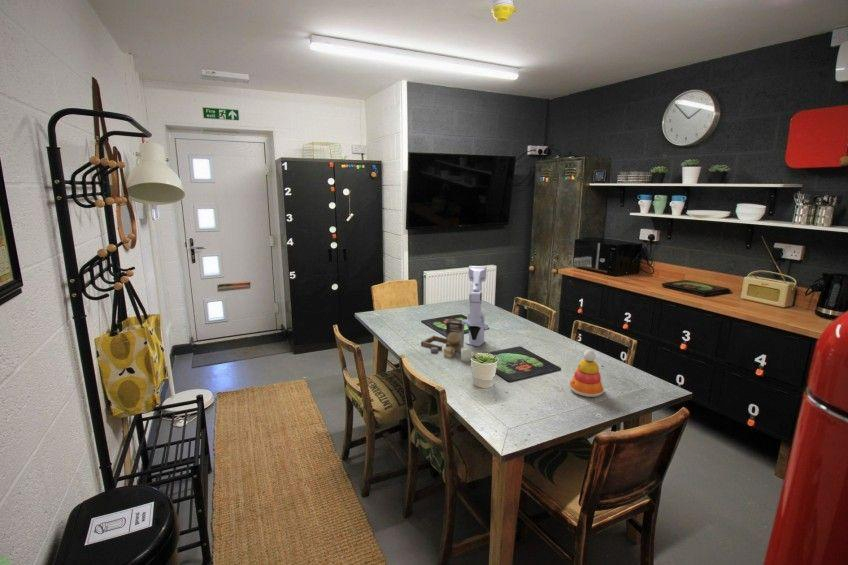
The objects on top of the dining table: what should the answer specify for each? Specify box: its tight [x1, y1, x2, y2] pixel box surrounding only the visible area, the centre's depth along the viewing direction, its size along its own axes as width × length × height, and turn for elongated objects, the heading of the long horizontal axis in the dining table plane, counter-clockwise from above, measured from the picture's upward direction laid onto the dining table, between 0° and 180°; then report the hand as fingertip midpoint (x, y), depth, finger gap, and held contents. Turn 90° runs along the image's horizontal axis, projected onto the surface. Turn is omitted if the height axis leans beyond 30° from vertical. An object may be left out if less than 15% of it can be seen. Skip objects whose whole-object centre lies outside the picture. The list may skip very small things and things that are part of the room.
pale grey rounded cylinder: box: [460, 346, 472, 363], centre depth 211 cm, size 5×5×6 cm
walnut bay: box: [420, 335, 446, 351], centre depth 232 cm, size 12×13×2 cm
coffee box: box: [445, 318, 465, 353], centre depth 224 cm, size 9×6×16 cm
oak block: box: [443, 346, 455, 358], centre depth 217 cm, size 4×4×4 cm
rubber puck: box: [430, 347, 439, 354], centre depth 222 cm, size 4×4×2 cm
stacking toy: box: [568, 349, 605, 398], centre depth 178 cm, size 14×14×20 cm
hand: (474, 339), depth 214 cm, fingers closed
